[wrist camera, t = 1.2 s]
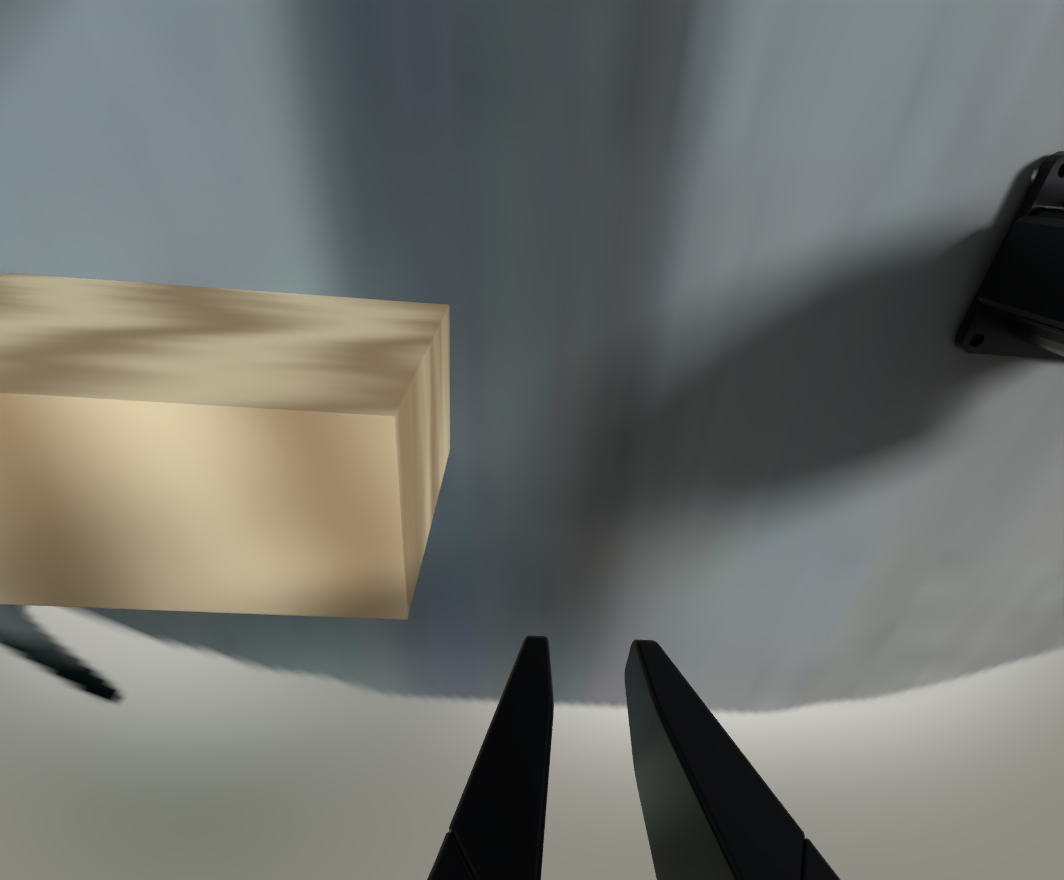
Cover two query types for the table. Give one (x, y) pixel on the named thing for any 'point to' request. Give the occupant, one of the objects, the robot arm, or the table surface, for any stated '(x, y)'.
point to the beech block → (217, 447)
